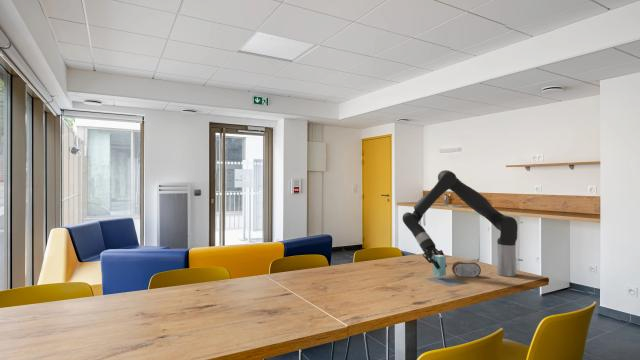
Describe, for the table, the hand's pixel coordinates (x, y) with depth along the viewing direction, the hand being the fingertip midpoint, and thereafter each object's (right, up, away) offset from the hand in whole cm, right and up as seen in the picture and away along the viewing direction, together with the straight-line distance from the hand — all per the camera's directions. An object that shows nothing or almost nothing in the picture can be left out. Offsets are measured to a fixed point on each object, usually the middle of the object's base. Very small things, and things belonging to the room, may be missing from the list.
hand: (442, 267), depth 193 cm
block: (-1, -4, +2) cm, 4 cm away
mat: (+1, -7, -2) cm, 7 cm away
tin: (+16, -7, +8) cm, 19 cm away
